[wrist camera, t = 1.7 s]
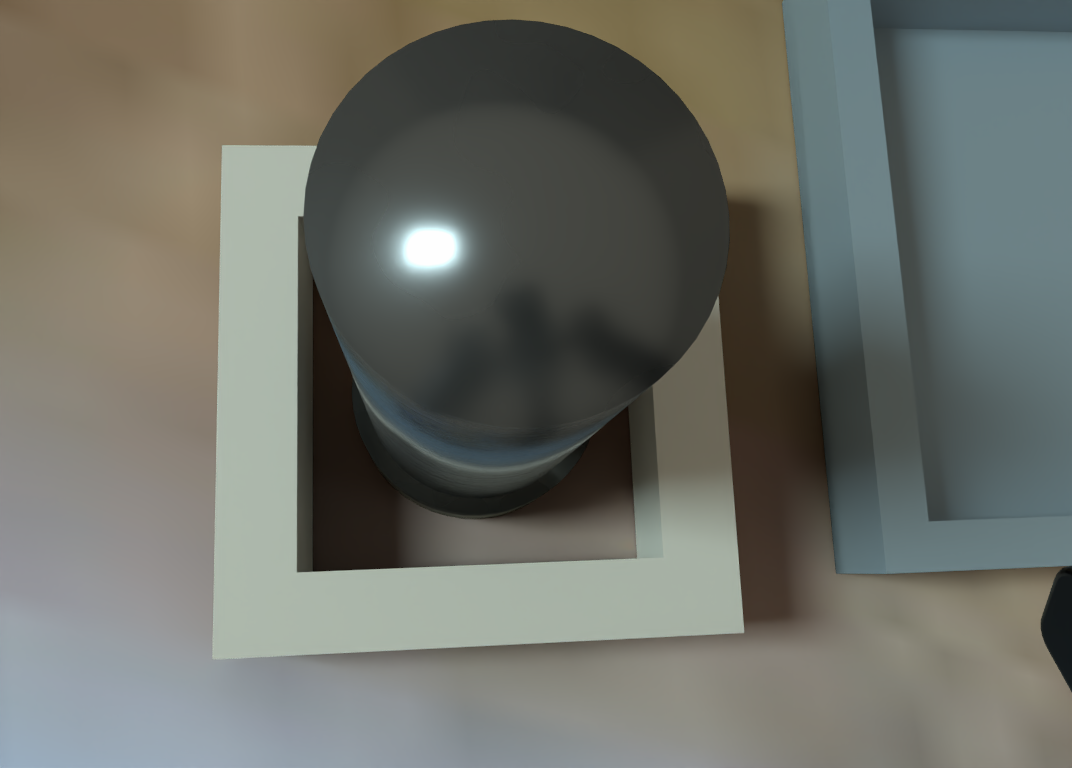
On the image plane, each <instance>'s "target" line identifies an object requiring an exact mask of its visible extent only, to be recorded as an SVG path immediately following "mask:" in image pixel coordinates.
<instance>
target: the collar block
mask: <svg viewBox="0 0 1072 768" xmlns="http://www.w3.org/2000/svg"><path fill="white" fill-rule="evenodd" d="M316 148H317V146H238V145H222V178H221V231H220V285H219V338H218V392H217V446H216V499H215V553H214V606H213V660H214V659H234V658H254V657H274V656H294V655H314V654H334V653H354V652H374V651H394V650H414V649H434V648H454V647H474V646H494V645H513V644H533V643H553V642H573V641H593V640H613V639H633V638H653V637H673V636H693V635H713V634H733V633H744V622H743V609H742V596H741V583H740V570H739V557H738V544H737V531H736V518H735V505H734V492H733V479H732V466H731V453H730V440H729V428H728V415H727V402H726V389H725V376H724V363H723V350H722V337H721V324H720V311H719V298H718V297H717V300H716V302H715V305H714V307H713V309H712V312H711V314H710V317H709V318H708V320H707V322H706V323H705V325H704V327H703V328H702V330H701V332H700V334H699V335H698V337H697V339H696V340H695V341H694V343H693V344H692V345H691V346H690V348H689V349H688V350H687V351H686V353H685V354H684V355H683V356H682V358H681V359H680V360H679V361H678V362H677V363H676V364H675V365H674V366H673V367H672V368H671V369H670V370H669V371H668V372H667V373H666V374H665V375H664V376H662V377H661V378H660V379H659V380H658V381H657V382H656V383H654V384H653V385H652V386H651V387H650V388H648V389H647V390H646V391H645V392H644V393H642V394H641V395H640V396H639V397H638V398H636V399H635V400H634V401H633V402H632V403H630V404H629V405H628V410H629V427H630V444H631V461H632V478H633V495H634V513H635V530H636V547H637V559H614V560H589V561H565V562H541V563H516V564H492V565H467V566H443V567H419V568H394V569H370V570H346V571H321V572H313V275H312V272H311V268H310V263H309V259H308V254H307V249H306V244H305V233H304V218H303V214H304V200H305V188H306V183H307V179H308V174H309V169H310V165H311V161H312V158H313V156H314V153H315V150H316Z"/></svg>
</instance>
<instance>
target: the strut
mask: <svg viewBox="0 0 1072 768" xmlns="http://www.w3.org/2000/svg"><path fill="white" fill-rule="evenodd" d="M303 218H304V233H305V244H306V249H307V254H308V259H309V263H310V268H311V272H312V275H313V277H314V280H315V283H316V286H317V288H318V291H319V294H320V297H321V299H322V302H323V304H324V307H325V309H326V312H327V314H328V316H329V319H330V321H331V324H332V326H333V329H334V331H335V334H336V336H337V339H338V341H339V343H340V346H341V348H342V351H343V353H344V356H345V358H346V361H347V363H348V366H349V368H350V370H351V373H352V375H353V383H352V399H353V410H354V414H355V419H356V424H357V427H358V430H359V432H360V435H361V438H362V440H363V442H364V444H365V446H366V448H367V450H368V452H369V454H370V456H371V458H372V459H373V461H374V463H375V465H376V466H377V468H378V469H379V471H380V472H381V473H382V475H383V476H384V477H385V479H386V480H387V481H388V482H389V483H390V484H391V485H392V486H393V487H394V488H395V489H396V490H397V491H399V492H400V493H401V494H402V495H403V496H405V497H406V498H408V499H409V500H411V501H412V502H414V503H416V504H417V505H419V506H421V507H423V508H425V509H428V510H430V511H432V512H435V513H439V514H442V515H445V516H450V517H456V518H468V519H479V518H489V517H494V516H499V515H503V514H507V513H509V512H512V511H514V510H517V509H520V508H522V507H523V506H525V505H527V504H529V503H531V502H533V501H534V500H536V499H537V498H539V497H540V496H542V495H543V494H544V493H546V492H547V491H549V490H550V489H551V488H553V487H554V486H555V485H557V484H558V483H559V482H560V481H561V480H562V479H563V478H564V477H565V476H566V475H567V474H568V473H569V472H570V470H571V469H572V468H573V467H574V465H575V464H576V463H577V462H578V460H579V458H580V457H581V455H582V453H583V452H584V450H585V448H586V446H587V444H588V442H589V439H590V437H591V436H592V435H593V434H594V433H596V432H597V431H598V430H599V429H600V428H602V427H603V426H604V425H605V424H606V423H608V422H609V421H610V420H611V419H612V418H614V417H615V416H616V415H617V414H618V413H620V412H621V411H622V410H623V409H624V408H626V407H627V406H628V405H629V404H630V403H632V402H633V401H634V400H635V399H636V398H638V397H639V396H640V395H641V394H642V393H644V392H645V391H646V390H647V389H648V388H650V387H651V386H652V385H653V384H654V383H656V382H657V381H658V380H659V379H660V378H661V377H662V376H664V375H665V374H666V373H667V372H668V371H669V370H670V369H671V368H672V367H673V366H674V365H675V364H676V363H677V362H678V361H679V360H680V359H681V358H682V356H683V355H684V354H685V353H686V351H687V350H688V349H689V348H690V346H691V345H692V344H693V343H694V341H695V340H696V339H697V337H698V335H699V334H700V332H701V330H702V328H703V327H704V325H705V323H706V322H707V320H708V318H709V317H710V314H711V312H712V309H713V307H714V305H715V302H716V300H717V297H718V295H719V293H720V289H721V285H722V282H723V278H724V274H725V270H726V266H727V258H728V250H729V241H730V237H729V210H728V203H727V197H726V190H725V186H724V182H723V179H722V175H721V172H720V168H719V165H718V162H717V160H716V158H715V155H714V153H713V151H712V148H711V146H710V144H709V141H708V139H707V137H706V136H705V134H704V132H703V131H702V129H701V127H700V126H699V124H698V122H697V120H696V119H695V117H694V116H693V114H692V113H691V112H690V111H689V109H688V108H687V107H686V105H685V104H684V103H683V101H682V100H681V99H680V98H679V96H678V95H677V94H676V93H675V92H674V91H673V90H672V89H671V88H670V87H669V86H668V85H667V84H666V83H665V82H664V81H663V80H662V79H661V78H660V77H659V76H658V75H656V74H655V73H654V72H653V71H651V70H650V69H649V68H648V67H646V66H645V65H644V64H643V63H641V62H640V61H639V60H637V59H635V58H634V57H632V56H631V55H629V54H627V53H626V52H624V51H622V50H621V49H619V48H618V47H616V46H614V45H612V44H609V43H607V42H605V41H603V40H601V39H599V38H597V37H594V36H592V35H589V34H586V33H583V32H580V31H577V30H574V29H571V28H568V27H564V26H559V25H554V24H549V23H544V22H537V21H524V20H492V21H482V22H476V23H470V24H464V25H459V26H455V27H452V28H449V29H445V30H442V31H438V32H435V33H433V34H430V35H428V36H426V37H423V38H421V39H419V40H417V41H414V42H412V43H410V44H408V45H407V46H405V47H403V48H402V49H400V50H398V51H397V52H395V53H393V54H392V55H390V56H388V57H387V58H386V59H384V60H383V61H382V62H381V63H379V64H378V65H377V66H375V67H374V68H373V69H372V70H370V71H369V72H368V73H367V74H366V75H365V76H364V77H363V78H362V79H361V80H360V81H359V82H358V83H357V84H356V85H355V86H354V87H353V88H352V89H351V90H350V91H349V92H348V94H347V95H346V97H345V98H344V99H343V101H342V102H341V103H340V105H339V106H338V107H337V109H336V110H335V112H334V113H333V115H332V116H331V118H330V120H329V122H328V124H327V126H326V128H325V129H324V131H323V133H322V135H321V137H320V139H319V142H318V145H317V148H316V150H315V153H314V156H313V158H312V161H311V165H310V169H309V174H308V179H307V183H306V188H305V200H304V214H303Z"/></svg>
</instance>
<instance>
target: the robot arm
mask: <svg viewBox="0 0 1072 768" xmlns="http://www.w3.org/2000/svg"><path fill="white" fill-rule="evenodd" d="M1041 632H1042V636H1043V639H1044V642H1045V644H1046V647H1047V648H1048V650H1049V652H1050V654H1051V656H1052V657H1053V659H1054V661H1055V663H1056V665H1057V666H1058V668H1059V670H1060V672H1061V674H1062V676H1063V677H1064V679H1065V681H1066V683H1067V685H1068V686H1069V688H1070V690H1071V692H1072V566H1068V567H1064V568H1062V569H1061V570H1060V571H1059V572H1058V573H1057V575H1056V577H1055V579H1054V582H1053V585H1052V588H1051V591H1050V594H1049V597H1048V600H1047V603H1046V606H1045V609H1044V612H1043V615H1042V618H1041Z"/></svg>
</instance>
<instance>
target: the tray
mask: <svg viewBox="0 0 1072 768" xmlns="http://www.w3.org/2000/svg"><path fill="white" fill-rule="evenodd" d="M782 6H783V17H784V28H785V38H786V49H787V59H788V70H789V80H790V91H791V102H792V112H793V123H794V133H795V144H796V154H797V165H798V176H799V186H800V197H801V207H802V218H803V228H804V239H805V250H806V260H807V271H808V281H809V292H810V302H811V313H812V324H813V334H814V345H815V355H816V366H817V377H818V387H819V398H820V408H821V419H822V429H823V440H824V451H825V461H826V472H827V482H828V493H829V503H830V514H831V525H832V535H833V546H834V556H835V567H836V573H847V574H895V573H918V572H941V571H963V570H986V569H1009V568H1031V567H1054V566H1072V0H784V1H783V2H782Z"/></svg>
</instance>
